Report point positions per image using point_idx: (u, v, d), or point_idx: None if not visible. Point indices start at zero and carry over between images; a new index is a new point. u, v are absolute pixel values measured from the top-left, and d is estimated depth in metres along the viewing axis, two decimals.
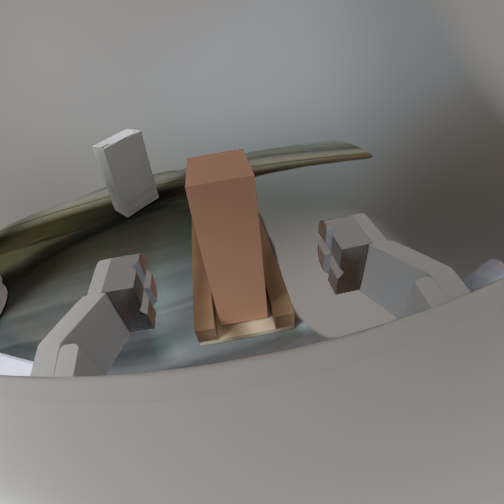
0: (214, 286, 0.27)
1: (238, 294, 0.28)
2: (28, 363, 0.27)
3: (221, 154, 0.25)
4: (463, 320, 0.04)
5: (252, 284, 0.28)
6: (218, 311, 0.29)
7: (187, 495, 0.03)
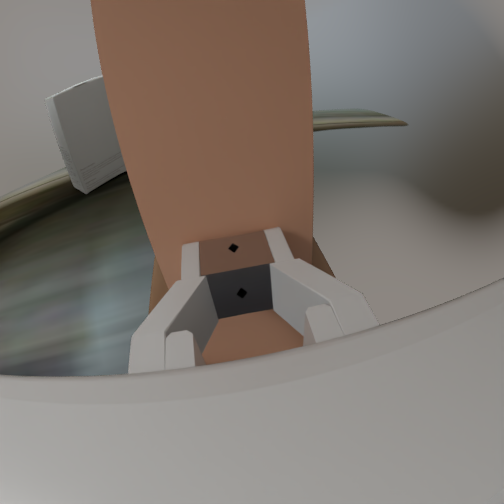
0: None
1: None
2: None
3: None
4: (463, 320, 0.04)
5: None
6: None
7: (188, 496, 0.03)
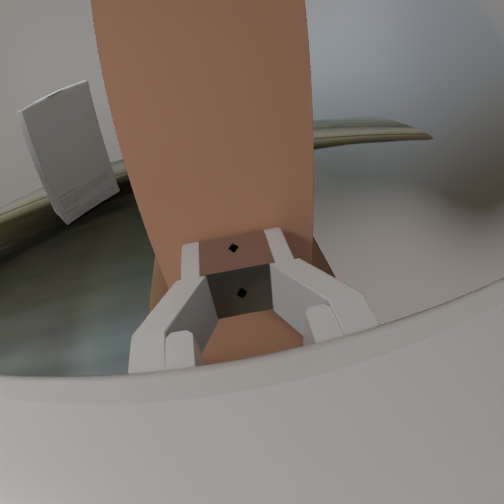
0: None
1: None
2: None
3: None
4: (463, 320, 0.04)
5: None
6: None
7: (187, 495, 0.03)
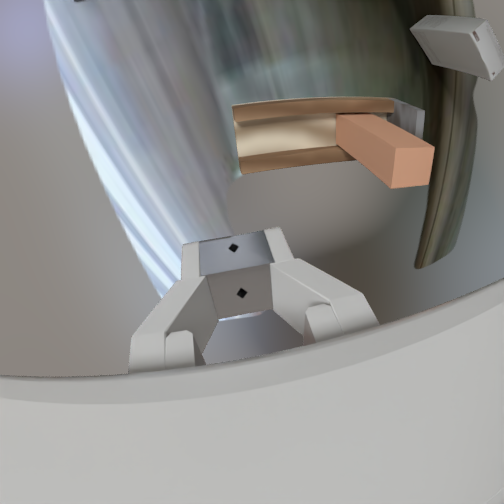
0: (353, 125, 0.36)
1: (348, 136, 0.38)
2: None
3: (427, 170, 0.30)
4: (463, 320, 0.04)
5: (350, 147, 0.38)
6: (342, 117, 0.38)
7: (187, 495, 0.03)
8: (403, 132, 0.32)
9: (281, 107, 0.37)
